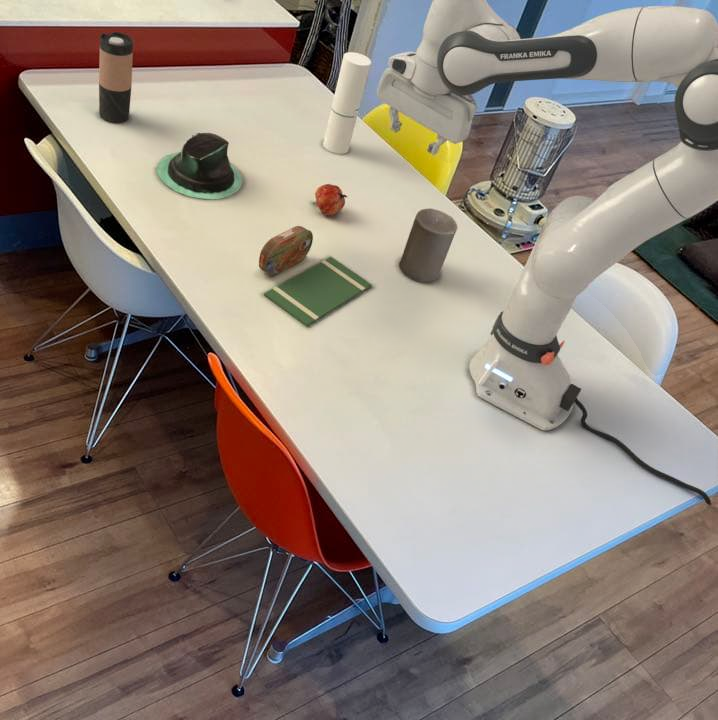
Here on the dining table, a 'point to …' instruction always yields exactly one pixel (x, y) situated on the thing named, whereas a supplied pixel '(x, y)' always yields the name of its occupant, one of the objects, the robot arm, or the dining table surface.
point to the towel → (317, 291)
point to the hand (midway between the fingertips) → (413, 141)
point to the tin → (285, 250)
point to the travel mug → (115, 76)
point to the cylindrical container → (346, 102)
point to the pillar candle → (427, 245)
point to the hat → (201, 168)
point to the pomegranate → (329, 199)
